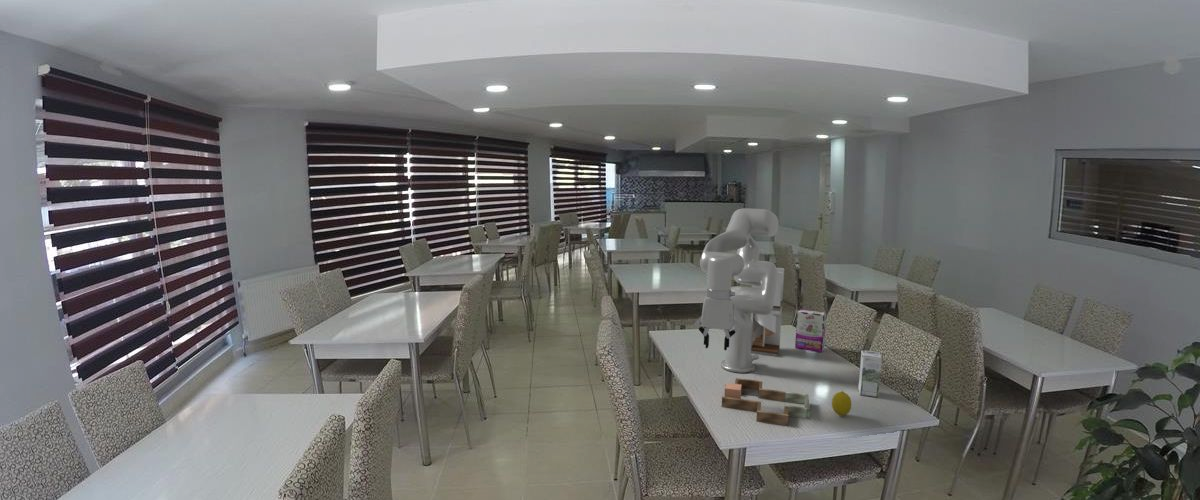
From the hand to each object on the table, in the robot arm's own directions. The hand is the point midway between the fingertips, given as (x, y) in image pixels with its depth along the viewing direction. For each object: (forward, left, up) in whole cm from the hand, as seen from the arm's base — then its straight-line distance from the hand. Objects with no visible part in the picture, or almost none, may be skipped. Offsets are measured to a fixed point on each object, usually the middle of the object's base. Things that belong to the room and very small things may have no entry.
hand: (716, 347), depth 181 cm
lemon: (-24, +30, -18) cm, 43 cm away
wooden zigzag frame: (-10, +12, -17) cm, 24 cm away
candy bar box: (-71, -17, -18) cm, 75 cm away
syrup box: (-48, +24, -18) cm, 57 cm away
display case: (-52, -25, -18) cm, 60 cm away
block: (-4, +5, -18) cm, 19 cm away
